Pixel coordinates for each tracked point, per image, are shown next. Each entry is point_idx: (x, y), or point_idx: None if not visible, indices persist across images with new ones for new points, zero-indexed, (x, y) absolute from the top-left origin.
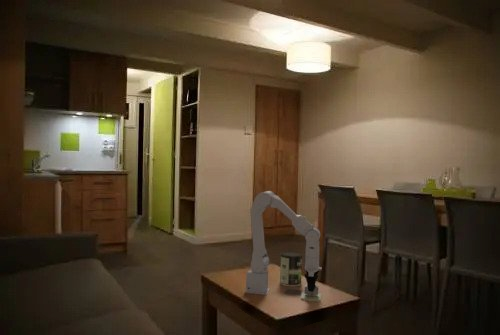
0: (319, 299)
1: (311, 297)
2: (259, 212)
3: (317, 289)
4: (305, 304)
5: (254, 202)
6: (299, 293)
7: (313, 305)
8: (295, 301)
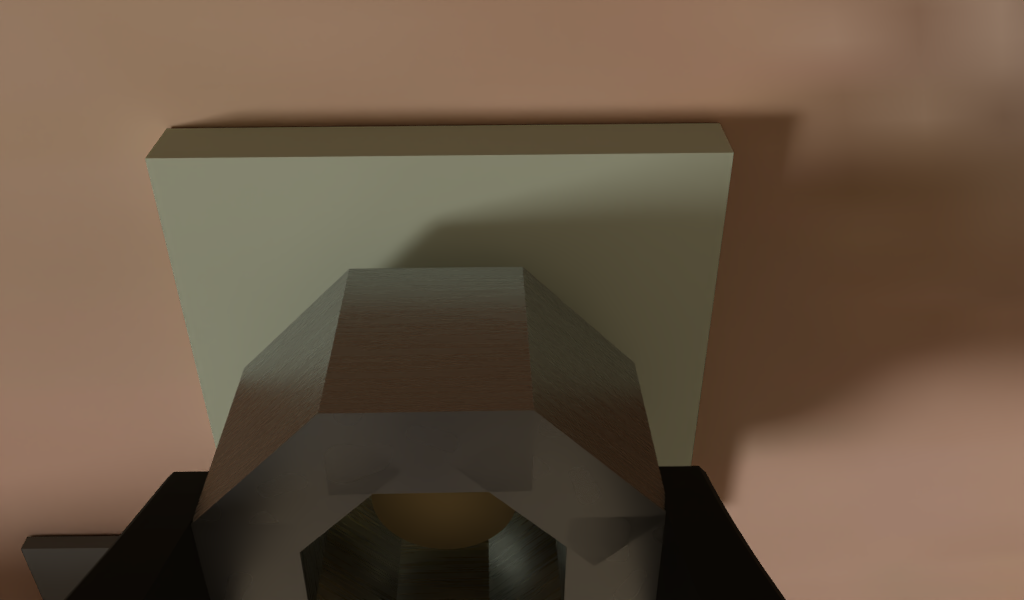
0: (699, 182)
1: None
2: None
3: (554, 393)
4: (905, 422)
5: None
6: None
7: (963, 272)
8: None
